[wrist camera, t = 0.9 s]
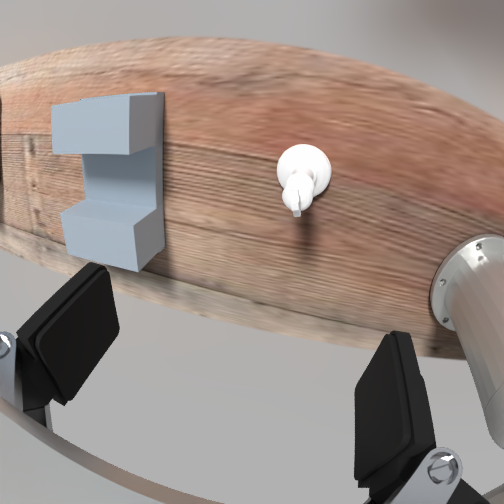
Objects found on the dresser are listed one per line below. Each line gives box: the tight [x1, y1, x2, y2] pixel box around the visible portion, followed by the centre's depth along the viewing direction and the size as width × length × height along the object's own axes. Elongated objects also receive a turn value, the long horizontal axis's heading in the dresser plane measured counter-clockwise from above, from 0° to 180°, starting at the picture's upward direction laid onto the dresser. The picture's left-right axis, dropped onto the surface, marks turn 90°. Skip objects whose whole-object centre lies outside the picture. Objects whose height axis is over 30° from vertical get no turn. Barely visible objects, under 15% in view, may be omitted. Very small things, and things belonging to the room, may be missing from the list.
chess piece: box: [277, 144, 331, 217], centre depth 22 cm, size 5×5×10 cm
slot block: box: [51, 92, 165, 272], centre depth 28 cm, size 10×17×6 cm, turn 175°
